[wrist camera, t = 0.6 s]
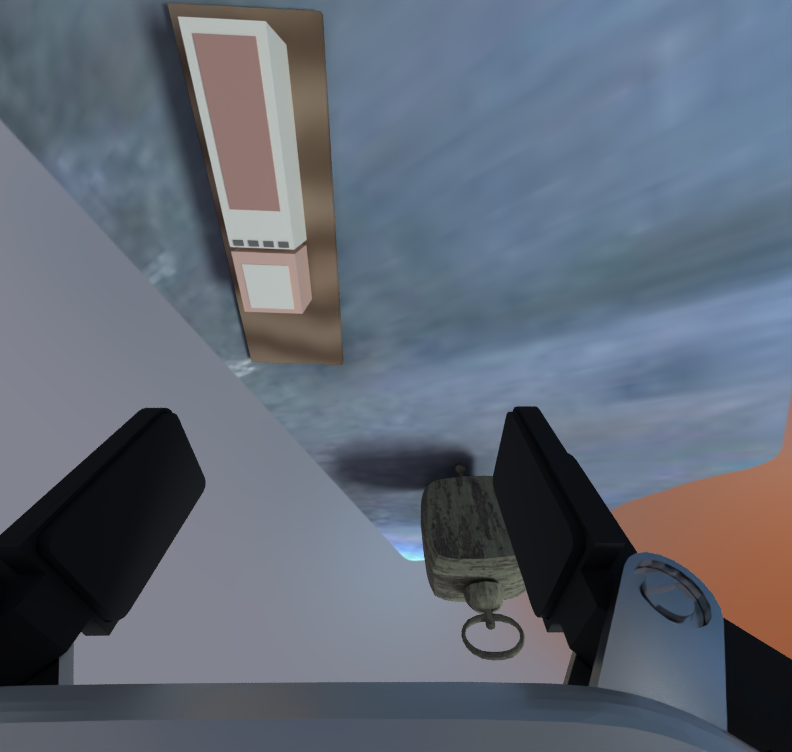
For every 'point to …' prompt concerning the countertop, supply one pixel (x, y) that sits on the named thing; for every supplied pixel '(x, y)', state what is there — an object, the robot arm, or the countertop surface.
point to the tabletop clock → (470, 551)
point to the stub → (273, 279)
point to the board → (320, 322)
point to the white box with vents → (248, 128)
